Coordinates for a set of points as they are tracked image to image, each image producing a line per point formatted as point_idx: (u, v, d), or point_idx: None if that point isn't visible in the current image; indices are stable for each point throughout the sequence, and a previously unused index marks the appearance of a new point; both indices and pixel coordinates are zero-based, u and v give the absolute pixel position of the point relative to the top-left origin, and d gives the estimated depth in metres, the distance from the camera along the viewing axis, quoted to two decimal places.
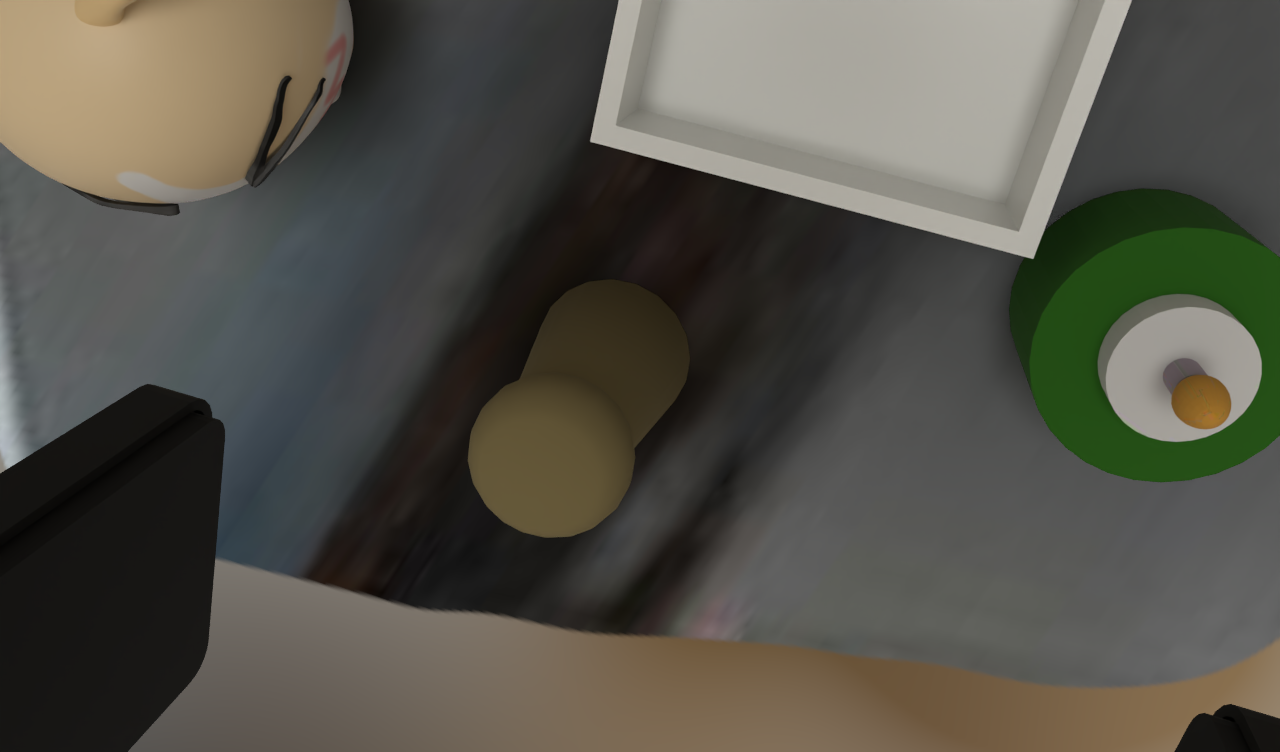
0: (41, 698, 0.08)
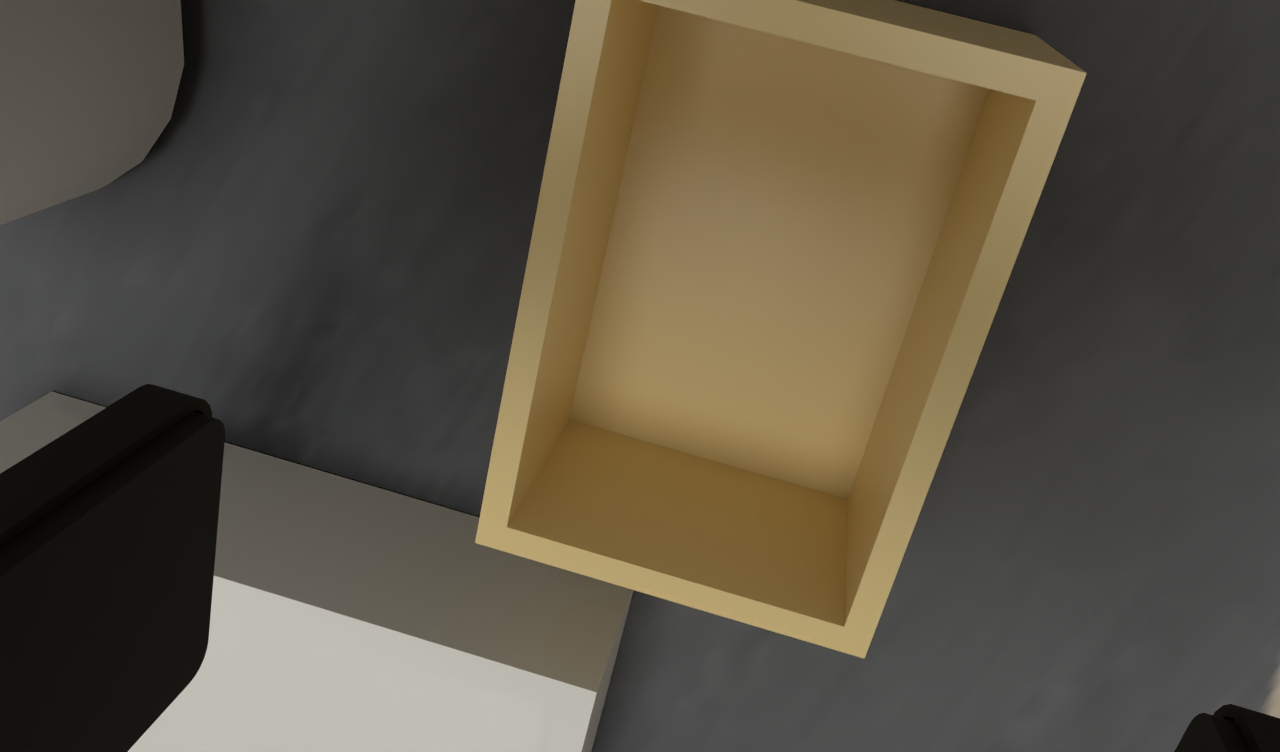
0: (41, 698, 0.08)
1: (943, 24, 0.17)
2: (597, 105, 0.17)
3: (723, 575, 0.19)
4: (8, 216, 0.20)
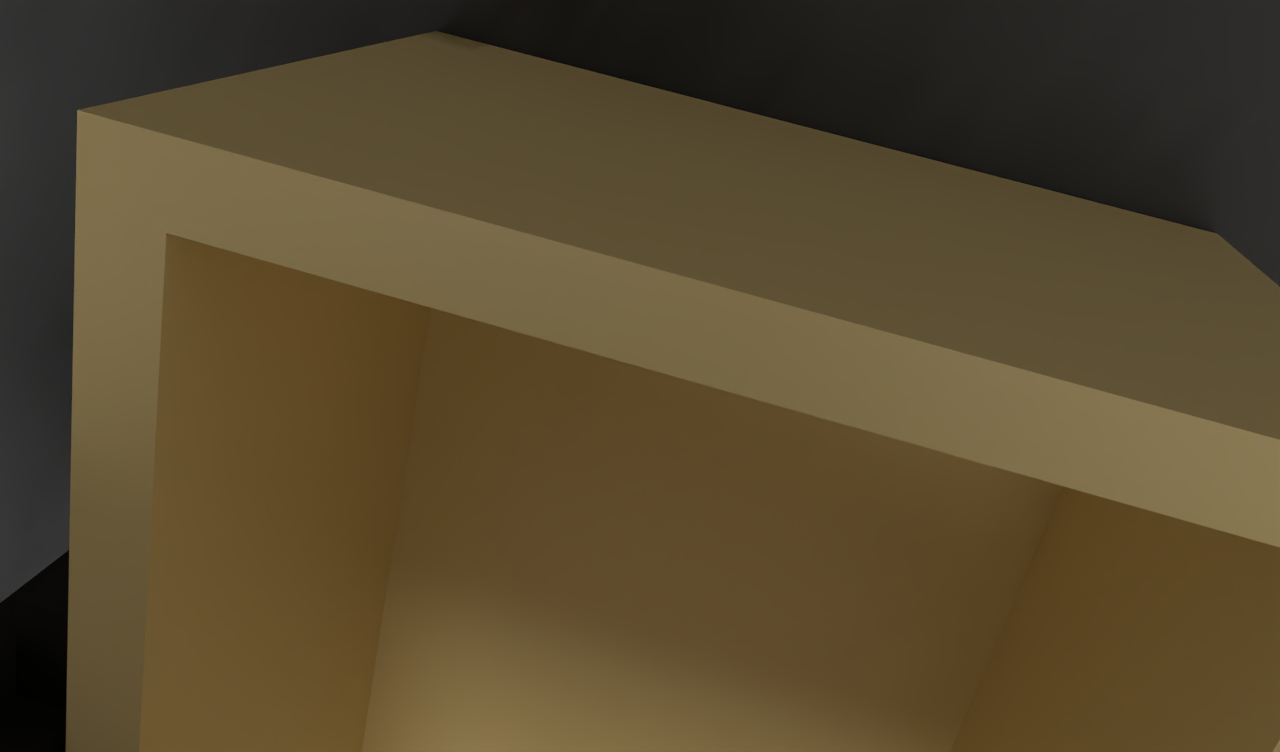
0: None
1: (1056, 265, 0.07)
2: (202, 472, 0.07)
3: None
4: None
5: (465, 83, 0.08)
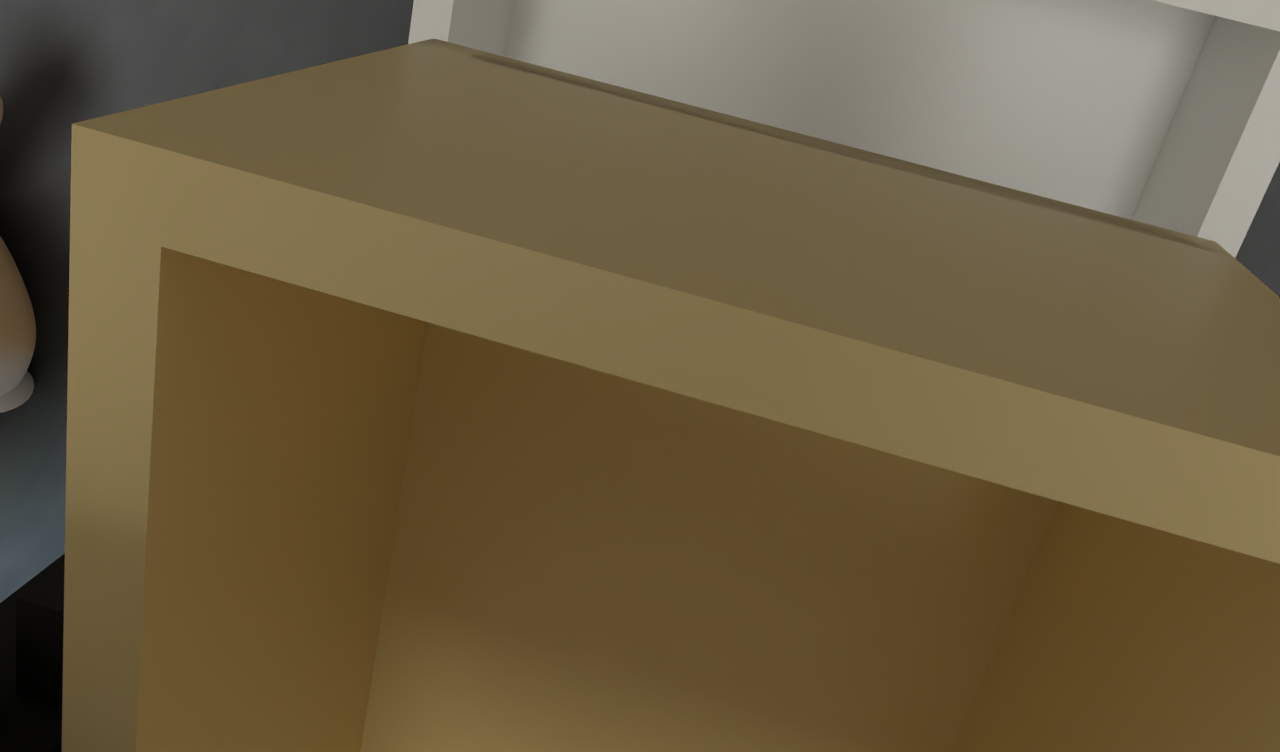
0: None
1: (1054, 276, 0.07)
2: (198, 485, 0.07)
3: None
4: None
5: (462, 93, 0.08)
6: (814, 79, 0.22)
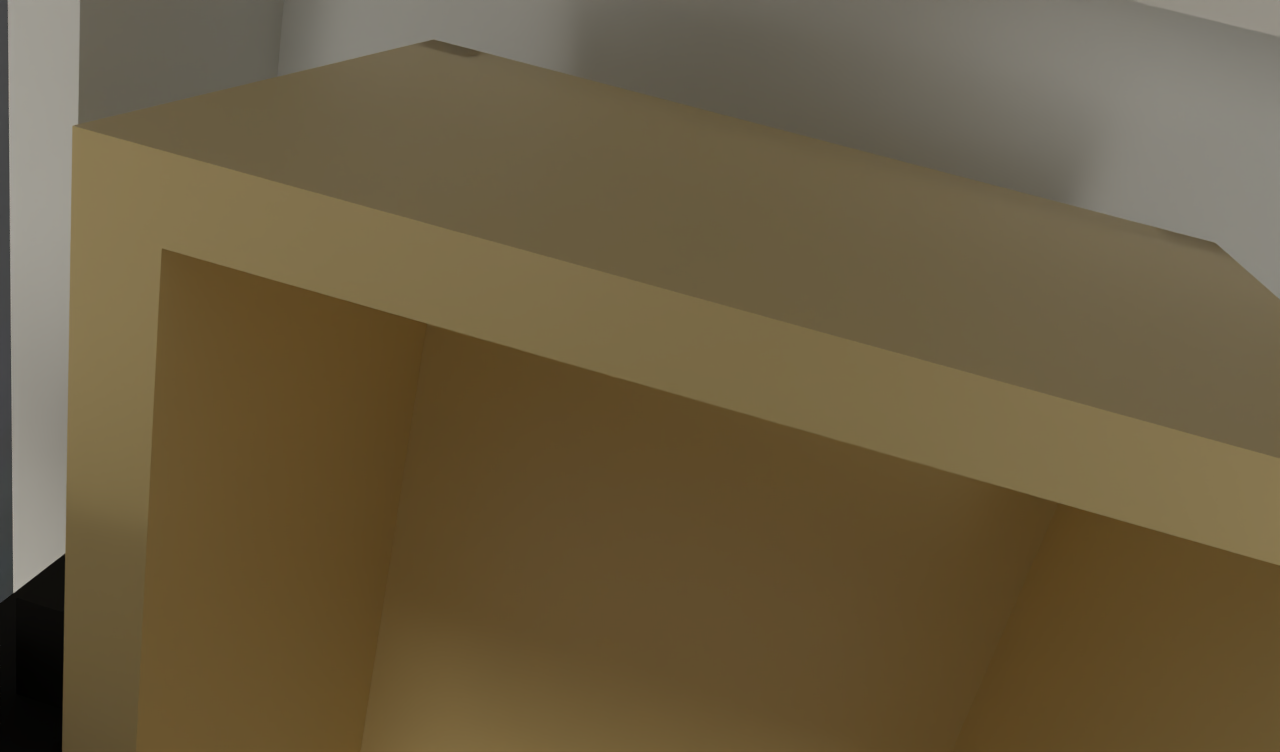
0: None
1: (1053, 277, 0.07)
2: (198, 486, 0.07)
3: None
4: None
5: (462, 94, 0.08)
6: None
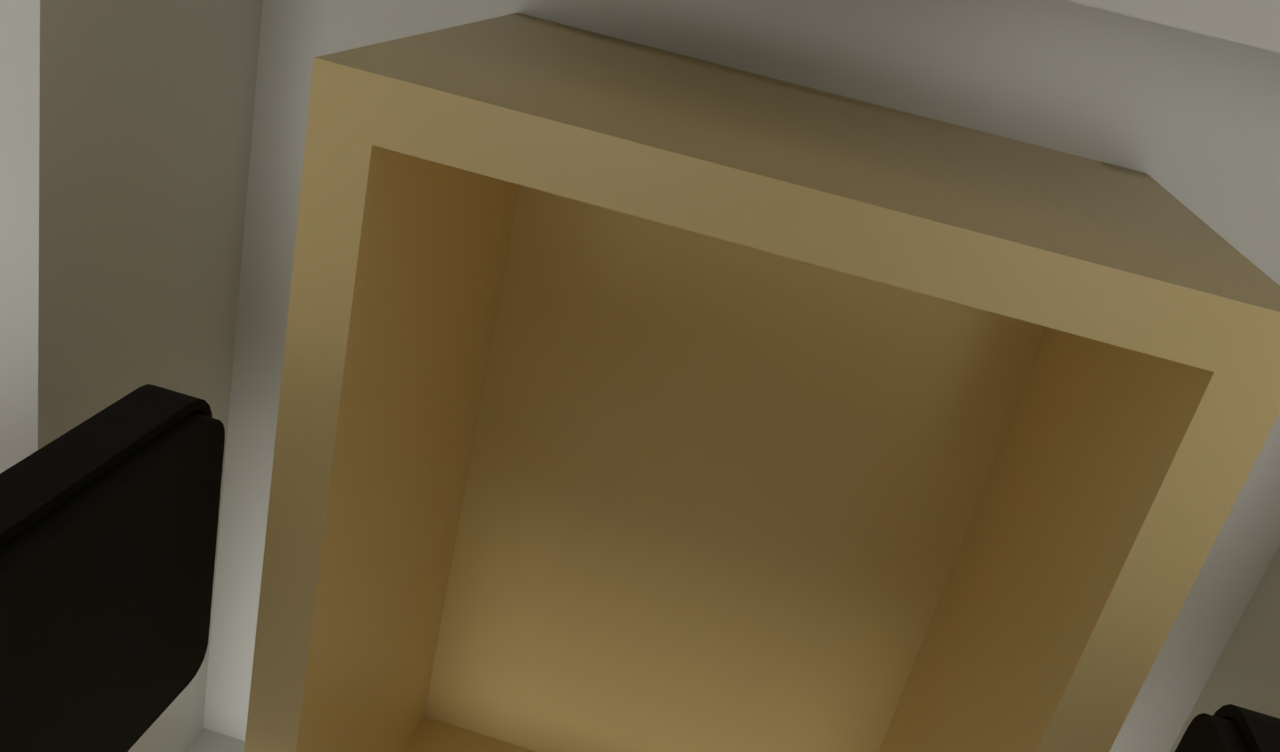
0: (41, 698, 0.08)
1: (1008, 182, 0.09)
2: (373, 334, 0.09)
3: None
4: None
5: (554, 50, 0.11)
6: None
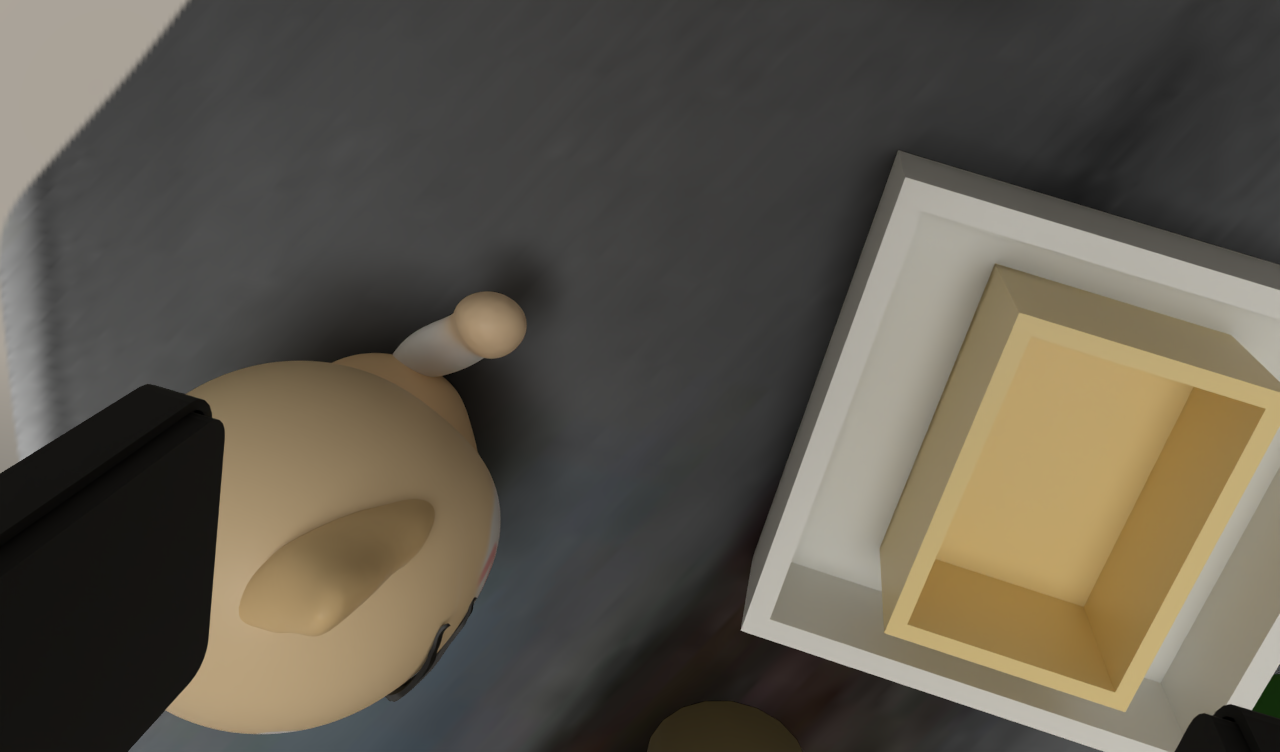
0: (40, 698, 0.08)
1: (1197, 346, 0.30)
2: None
3: (1036, 658, 0.32)
4: None
5: (1037, 291, 0.31)
6: None
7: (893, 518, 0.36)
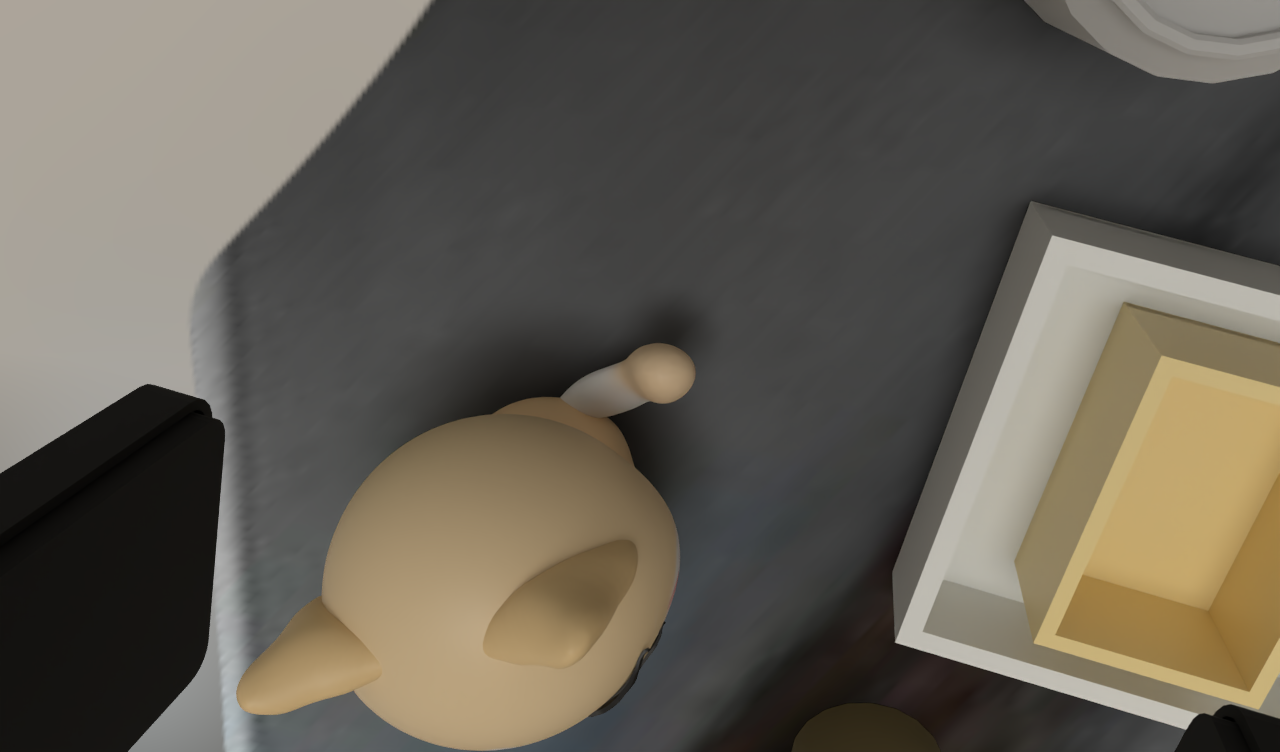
0: (41, 698, 0.08)
1: None
2: None
3: (1174, 662, 0.35)
4: None
5: (1168, 329, 0.34)
6: None
7: (1028, 534, 0.39)
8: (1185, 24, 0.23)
